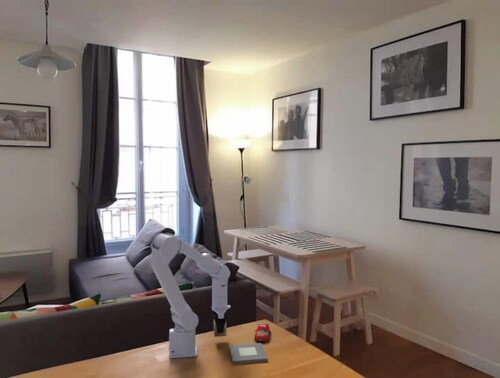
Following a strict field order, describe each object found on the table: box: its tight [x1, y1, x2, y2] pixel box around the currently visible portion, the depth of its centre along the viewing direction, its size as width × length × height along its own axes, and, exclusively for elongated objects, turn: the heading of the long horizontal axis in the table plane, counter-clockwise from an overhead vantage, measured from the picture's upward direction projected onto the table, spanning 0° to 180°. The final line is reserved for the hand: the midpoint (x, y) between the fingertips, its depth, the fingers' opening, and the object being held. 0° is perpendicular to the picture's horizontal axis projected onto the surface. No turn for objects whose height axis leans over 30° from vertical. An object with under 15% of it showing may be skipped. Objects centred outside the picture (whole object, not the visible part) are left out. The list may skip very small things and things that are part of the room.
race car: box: [254, 322, 271, 343], centre depth 154 cm, size 13×5×4 cm, turn 171°
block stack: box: [213, 319, 227, 338], centre depth 149 cm, size 4×4×6 cm
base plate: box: [229, 342, 268, 365], centre depth 138 cm, size 12×12×1 cm
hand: (219, 330), depth 149 cm, fingers closed on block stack, 4 cm apart
